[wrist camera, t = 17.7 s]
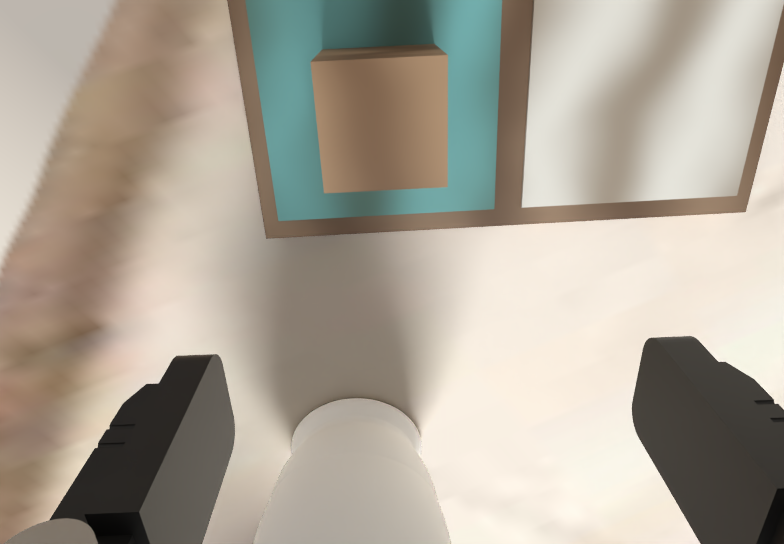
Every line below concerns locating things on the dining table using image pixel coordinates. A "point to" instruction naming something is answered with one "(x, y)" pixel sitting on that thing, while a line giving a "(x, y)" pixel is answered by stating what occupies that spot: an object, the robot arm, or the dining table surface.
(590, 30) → the board
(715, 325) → the dining table surface
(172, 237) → the dining table surface
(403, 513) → the jar
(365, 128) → the walnut block
